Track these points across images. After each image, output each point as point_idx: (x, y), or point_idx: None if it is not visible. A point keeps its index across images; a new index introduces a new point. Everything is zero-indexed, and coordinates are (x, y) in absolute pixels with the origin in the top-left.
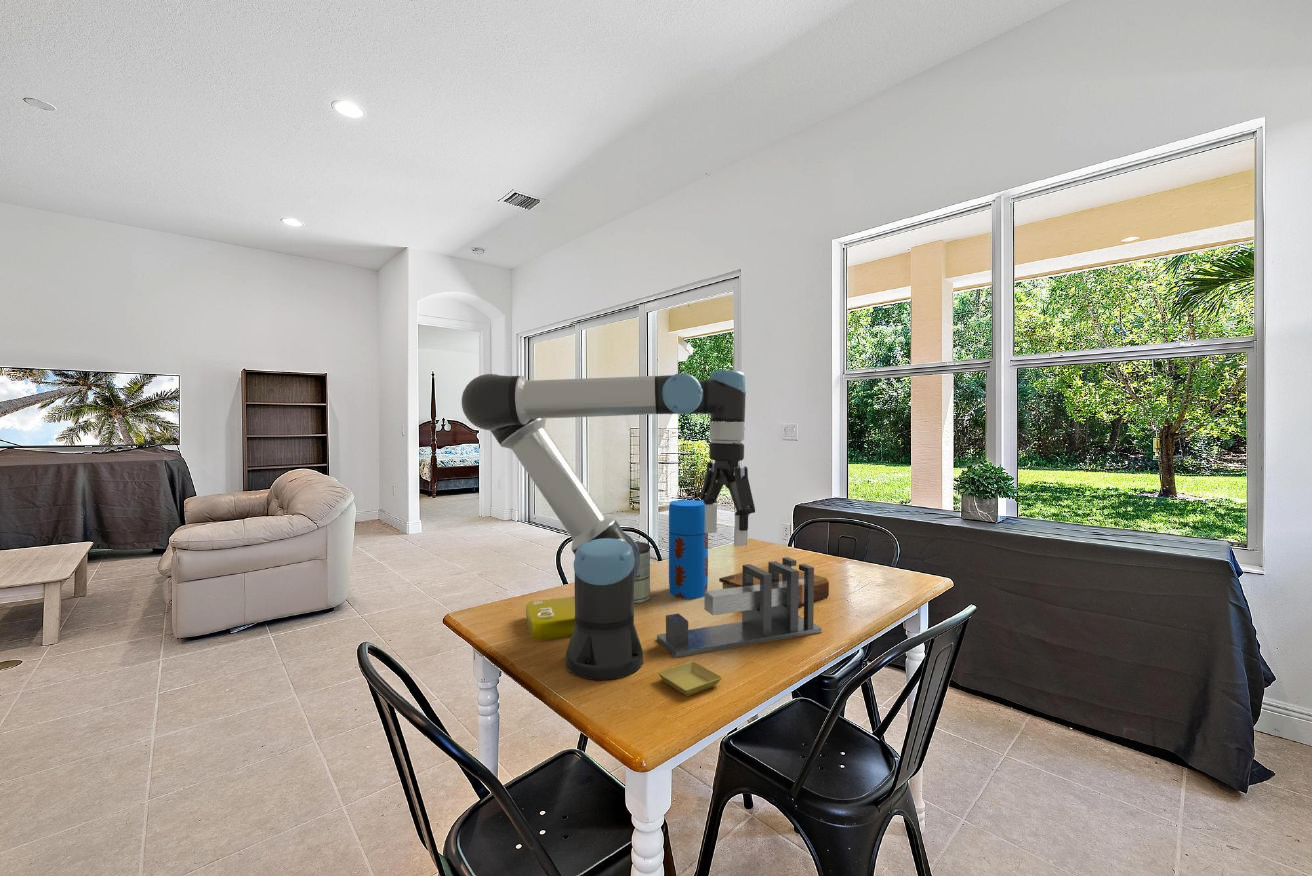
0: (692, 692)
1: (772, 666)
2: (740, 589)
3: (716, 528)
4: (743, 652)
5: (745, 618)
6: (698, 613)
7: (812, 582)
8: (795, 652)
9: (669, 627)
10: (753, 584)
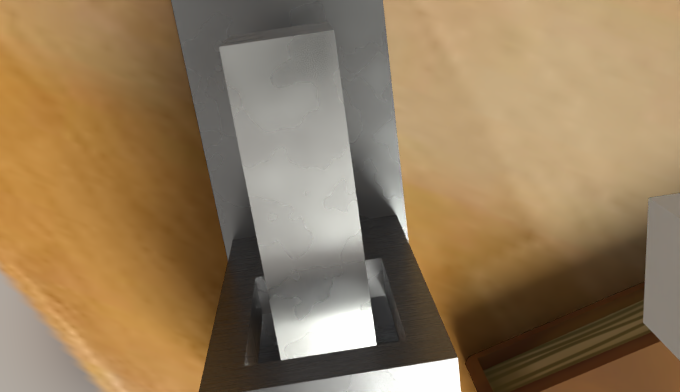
0: None
1: (7, 177)
2: (319, 248)
3: (668, 347)
4: (144, 120)
5: (373, 228)
6: (597, 79)
7: None
8: (118, 300)
9: None
10: (659, 388)
